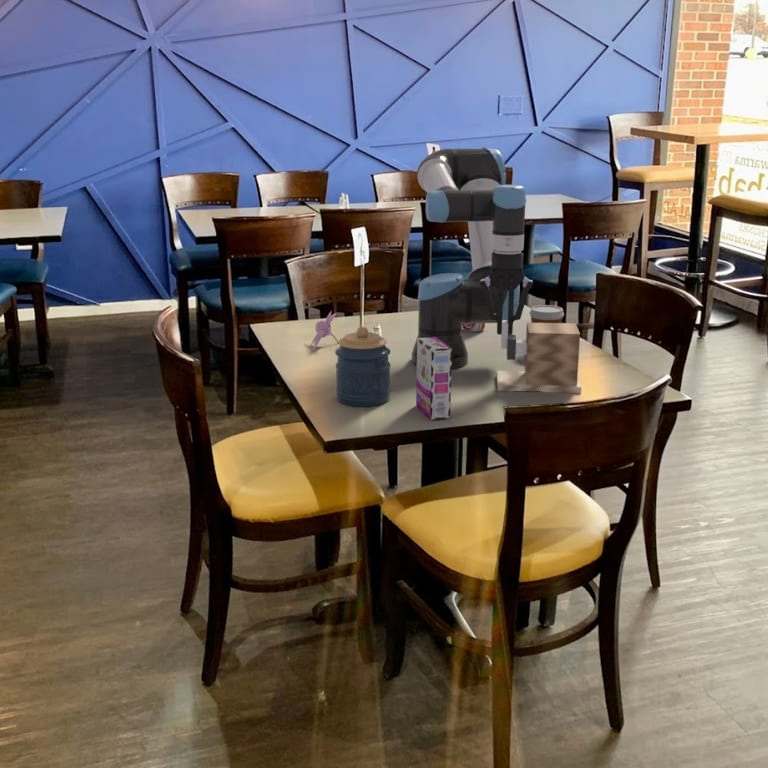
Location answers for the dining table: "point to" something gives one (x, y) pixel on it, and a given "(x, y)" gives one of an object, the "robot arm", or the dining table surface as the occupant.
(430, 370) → the candy bar box
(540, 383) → the block
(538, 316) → the disposable coffee cup
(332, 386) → the dining table surface
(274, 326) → the dining table surface
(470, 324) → the soda can
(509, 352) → the shaft
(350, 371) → the canister
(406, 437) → the dining table surface
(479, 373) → the dining table surface
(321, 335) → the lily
